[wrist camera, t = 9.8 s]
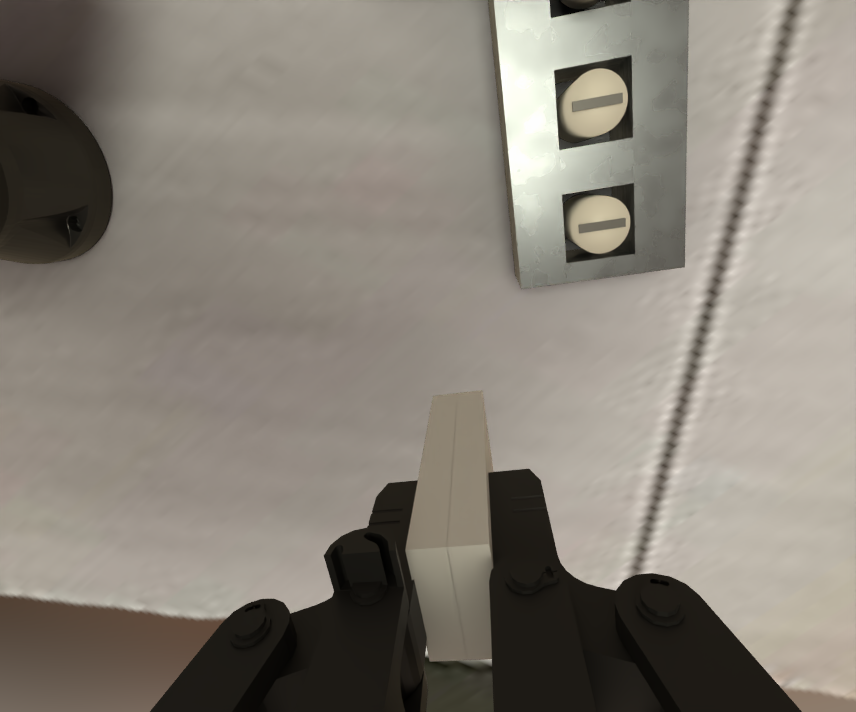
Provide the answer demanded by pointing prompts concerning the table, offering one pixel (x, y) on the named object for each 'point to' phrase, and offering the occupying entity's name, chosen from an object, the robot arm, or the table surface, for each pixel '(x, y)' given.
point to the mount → (598, 163)
